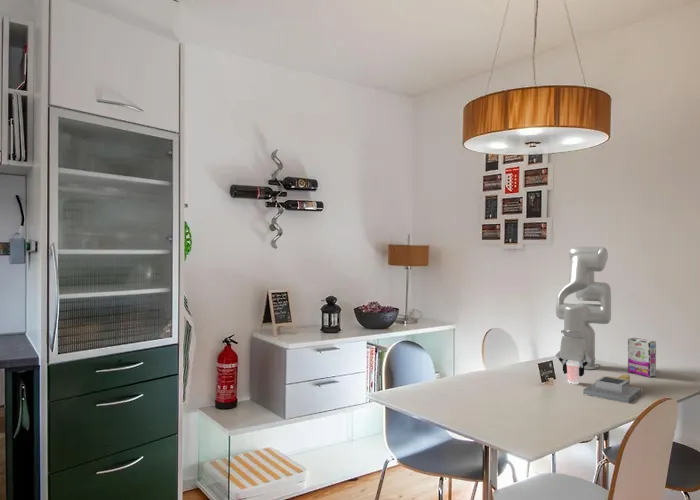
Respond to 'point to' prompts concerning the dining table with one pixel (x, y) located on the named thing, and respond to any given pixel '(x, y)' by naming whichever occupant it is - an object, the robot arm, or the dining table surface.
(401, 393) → the dining table surface
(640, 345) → the candy bar box
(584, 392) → the stacked grey tray
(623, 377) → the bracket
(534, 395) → the dining table surface
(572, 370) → the beverage cup
